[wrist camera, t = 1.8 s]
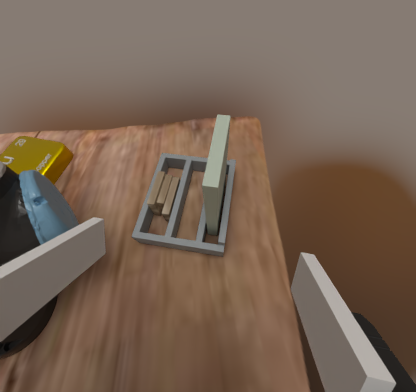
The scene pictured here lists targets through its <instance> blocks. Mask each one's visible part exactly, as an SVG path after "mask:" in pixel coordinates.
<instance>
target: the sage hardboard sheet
mask: <svg viewBox="0 0 416 392" xmlns="http://www.w3.org/2000/svg"><path fill="white" fill-rule="evenodd" d="M229 127H230V116H227V115H217V119H216V124H215V129H214V133H213V138H212V142H211V147H210V151H209V156H208V161H207V165H206V170H205V174H204V179H203V184H202V189H203V198H204V206H205V214H206V223H207V231H208V234H209V235H216V236H217V233H218V227H219V220H220V214H221V207H222V201H223V194H224V188H225V178H226V166H227V153H228V140H229Z"/></svg>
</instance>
